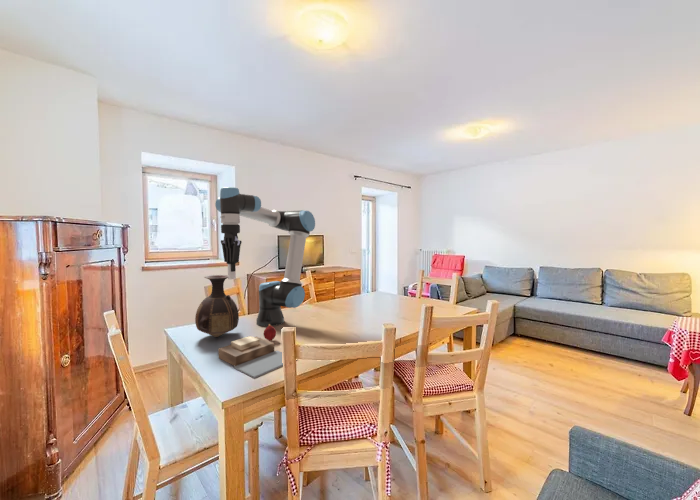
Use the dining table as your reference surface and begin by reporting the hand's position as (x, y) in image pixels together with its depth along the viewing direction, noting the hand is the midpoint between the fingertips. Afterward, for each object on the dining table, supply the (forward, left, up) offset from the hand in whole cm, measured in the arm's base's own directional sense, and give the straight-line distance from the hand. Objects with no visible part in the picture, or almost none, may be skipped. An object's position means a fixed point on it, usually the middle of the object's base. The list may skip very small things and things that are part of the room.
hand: (231, 278), depth 133 cm
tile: (0, +9, -27) cm, 29 cm away
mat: (0, +23, -31) cm, 39 cm away
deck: (0, +10, -31) cm, 33 cm away
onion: (-16, +4, -32) cm, 36 cm away
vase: (-4, -21, -32) cm, 38 cm away
